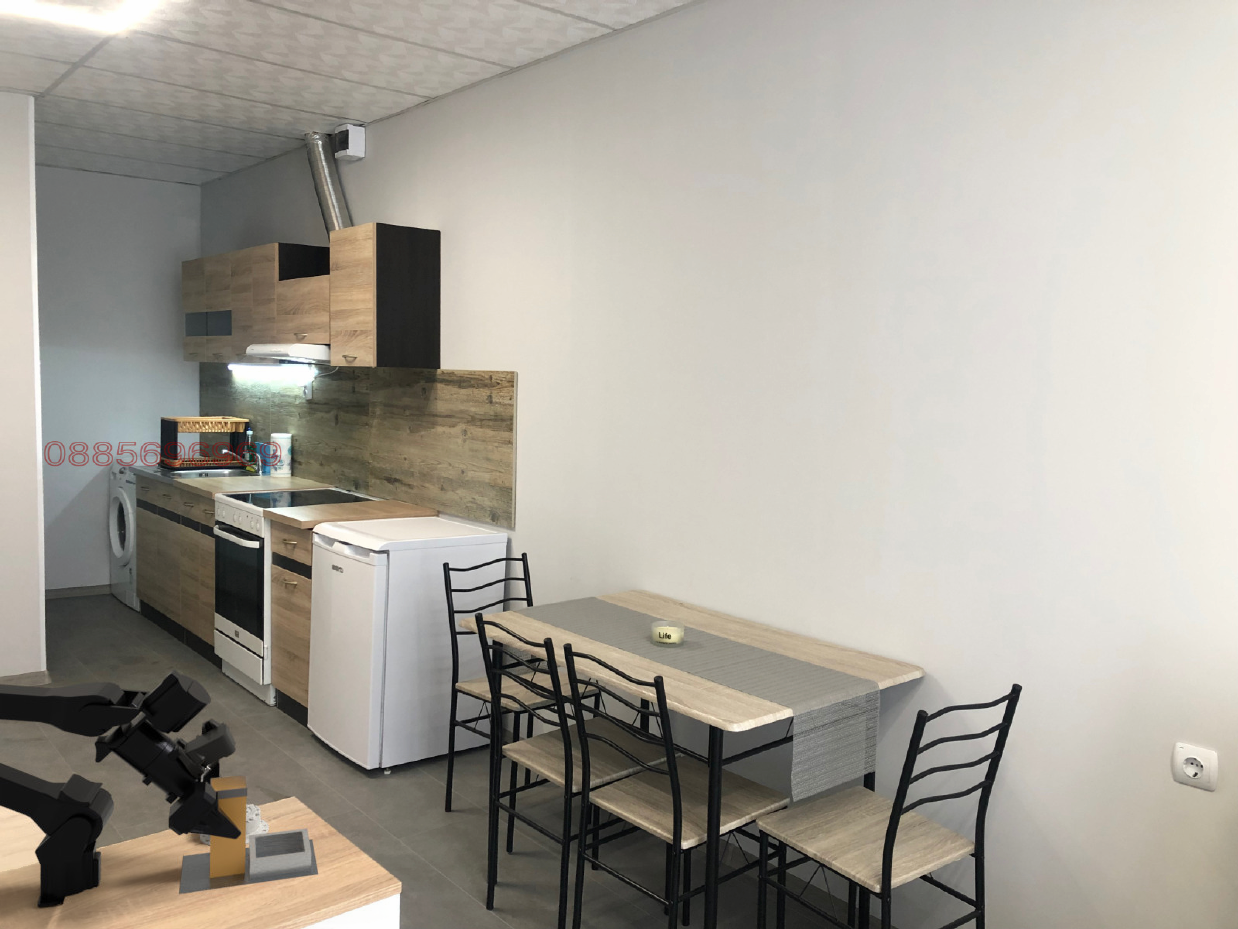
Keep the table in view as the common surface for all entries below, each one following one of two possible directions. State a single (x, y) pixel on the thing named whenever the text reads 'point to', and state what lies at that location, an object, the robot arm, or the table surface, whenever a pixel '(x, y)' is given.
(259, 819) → the mechanical component
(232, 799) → the capped orange pillar
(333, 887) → the table surface
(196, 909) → the table surface
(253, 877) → the grey socket base plate
